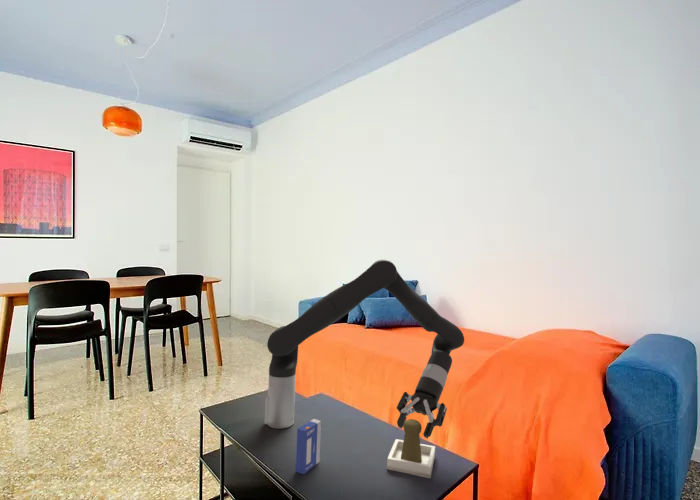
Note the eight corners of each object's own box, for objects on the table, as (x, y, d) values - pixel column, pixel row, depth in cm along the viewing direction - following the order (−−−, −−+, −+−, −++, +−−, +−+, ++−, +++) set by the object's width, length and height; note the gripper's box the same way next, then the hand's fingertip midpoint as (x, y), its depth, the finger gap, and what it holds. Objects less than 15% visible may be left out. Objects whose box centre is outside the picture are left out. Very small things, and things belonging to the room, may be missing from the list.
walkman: (303, 474, 102) (305, 430, 102) (295, 471, 104) (297, 427, 104) (320, 461, 109) (321, 419, 109) (312, 458, 110) (313, 417, 111)
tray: (387, 469, 106) (387, 458, 106) (395, 448, 118) (395, 438, 118) (430, 478, 103) (430, 467, 103) (435, 456, 114) (435, 446, 114)
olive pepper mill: (398, 453, 113) (400, 416, 113) (418, 453, 113) (420, 416, 113) (403, 465, 107) (404, 426, 107) (424, 464, 107) (425, 425, 107)
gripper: (408, 370, 121) (386, 418, 112) (450, 381, 112) (430, 433, 103) (415, 383, 125) (395, 430, 116) (456, 394, 116) (438, 446, 107)
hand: (412, 431), depth 110 cm, fingers open, 8 cm apart
